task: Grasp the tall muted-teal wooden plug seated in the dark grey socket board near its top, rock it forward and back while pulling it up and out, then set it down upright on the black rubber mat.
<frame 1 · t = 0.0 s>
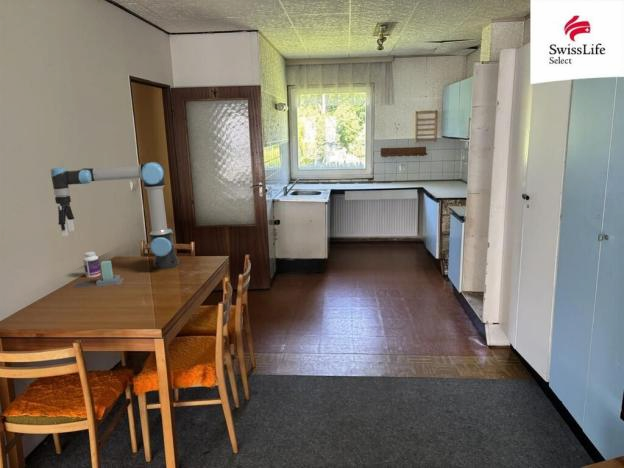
hand: (68, 233, 264), 28 cm above the table, fingers open, 13 cm apart
header: (109, 283, 262), on the table
mat: (84, 285, 261), on the table
pill bottle: (93, 276, 277), on the table
plug: (108, 282, 262), point 1 cm above the table, touching header
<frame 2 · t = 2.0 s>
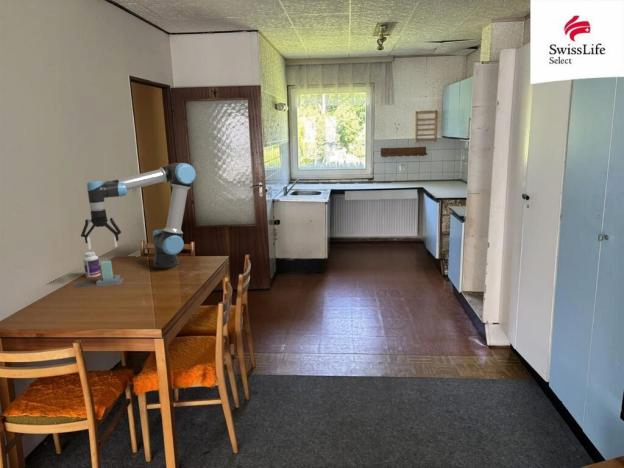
hand: (103, 247, 257), 21 cm above the table, fingers open, 13 cm apart
nothing on the table moved.
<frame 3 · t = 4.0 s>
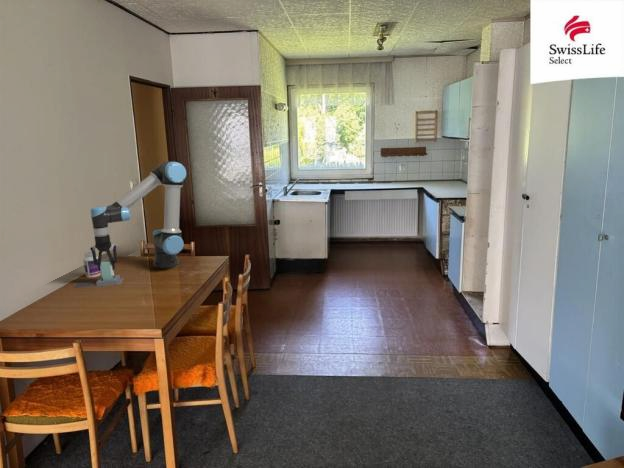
hand: (107, 275, 261), 5 cm above the table, fingers closed on plug, 4 cm apart
plug: (108, 282, 262), point 1 cm above the table, touching gripper, header
everything else where it was.
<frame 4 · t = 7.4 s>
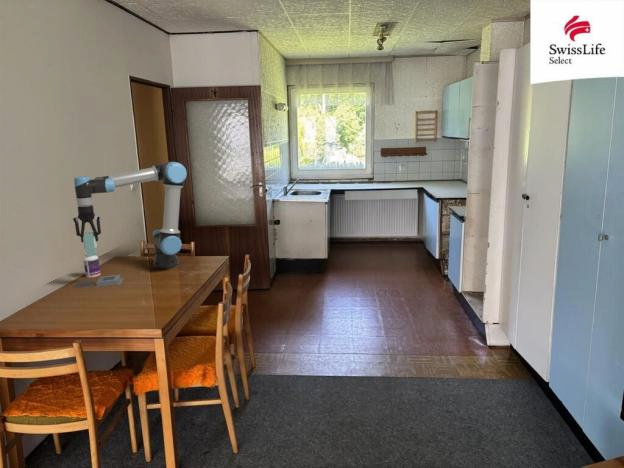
hand: (90, 247, 256), 21 cm above the table, fingers closed on plug, 4 cm apart
plug: (91, 254, 257), point 17 cm above the table, touching gripper
everything else where it was.
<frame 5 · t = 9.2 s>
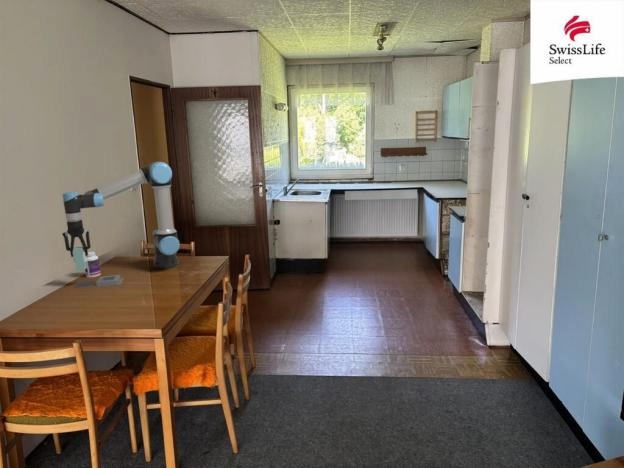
hand: (80, 261, 258), 14 cm above the table, fingers closed on plug, 4 cm apart
plug: (81, 268, 258), point 10 cm above the table, touching gripper
everything else where it was.
when the fingers open (5 cm above the table, at t = 10.9 s): plug stays where it is, resting on mat.
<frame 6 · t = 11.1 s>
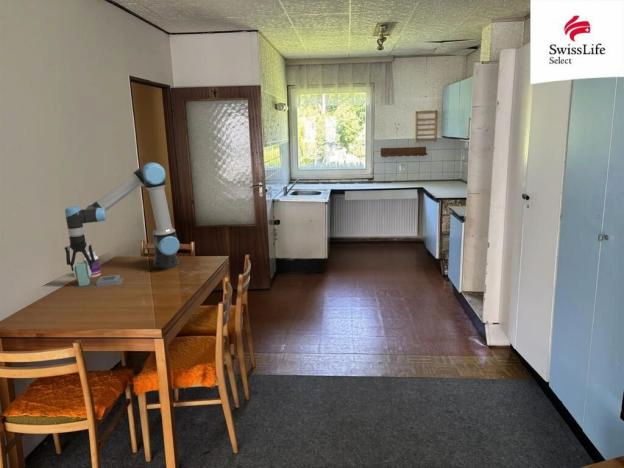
hand: (83, 275, 259), 6 cm above the table, fingers open, 7 cm apart
plug: (84, 284, 261), point 1 cm above the table, touching mat
everything else where it was.
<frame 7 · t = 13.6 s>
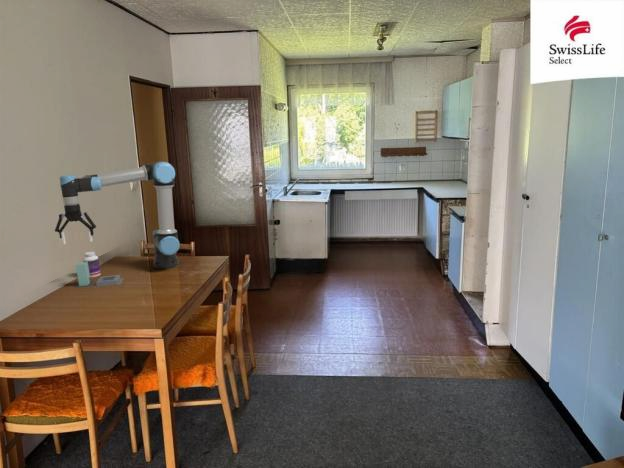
hand: (78, 242, 255), 25 cm above the table, fingers open, 13 cm apart
nothing on the table moved.
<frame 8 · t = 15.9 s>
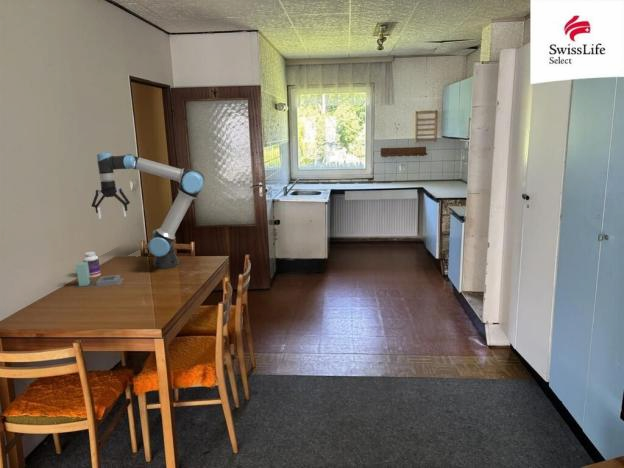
hand: (112, 217, 269), 35 cm above the table, fingers open, 13 cm apart
nothing on the table moved.
at the end: plug inside the target area on the mat (0.0 cm from its centre), point 0.6 cm above the mat's base; plug tilted 0°; plug touching mat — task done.
